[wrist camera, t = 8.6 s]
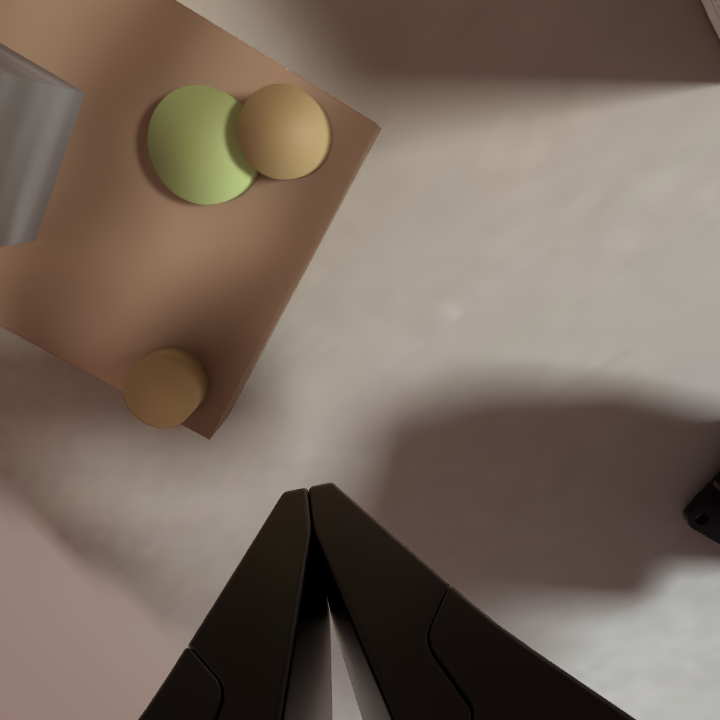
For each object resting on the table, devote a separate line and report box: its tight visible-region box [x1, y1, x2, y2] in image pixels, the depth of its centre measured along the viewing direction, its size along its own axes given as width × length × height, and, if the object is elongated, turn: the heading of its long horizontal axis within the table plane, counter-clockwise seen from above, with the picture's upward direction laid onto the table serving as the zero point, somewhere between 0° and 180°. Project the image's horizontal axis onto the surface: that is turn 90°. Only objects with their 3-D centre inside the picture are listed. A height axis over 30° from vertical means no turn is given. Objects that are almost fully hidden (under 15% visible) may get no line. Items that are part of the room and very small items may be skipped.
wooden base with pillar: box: [0, 0, 381, 440], centre depth 13 cm, size 13×12×13 cm
